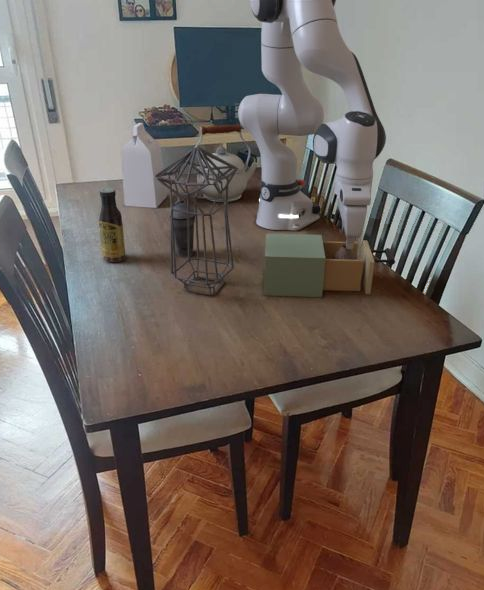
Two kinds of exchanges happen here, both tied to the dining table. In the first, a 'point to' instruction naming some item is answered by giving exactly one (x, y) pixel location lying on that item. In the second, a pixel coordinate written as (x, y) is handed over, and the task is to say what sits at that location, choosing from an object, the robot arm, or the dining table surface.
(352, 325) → the dining table surface
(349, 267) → the drawer
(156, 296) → the dining table surface
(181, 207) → the beverage cup
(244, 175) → the kettle
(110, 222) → the sauce bottle
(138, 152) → the milk
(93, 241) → the dining table surface
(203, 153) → the geometric lantern
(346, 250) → the vase
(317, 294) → the cabinet
